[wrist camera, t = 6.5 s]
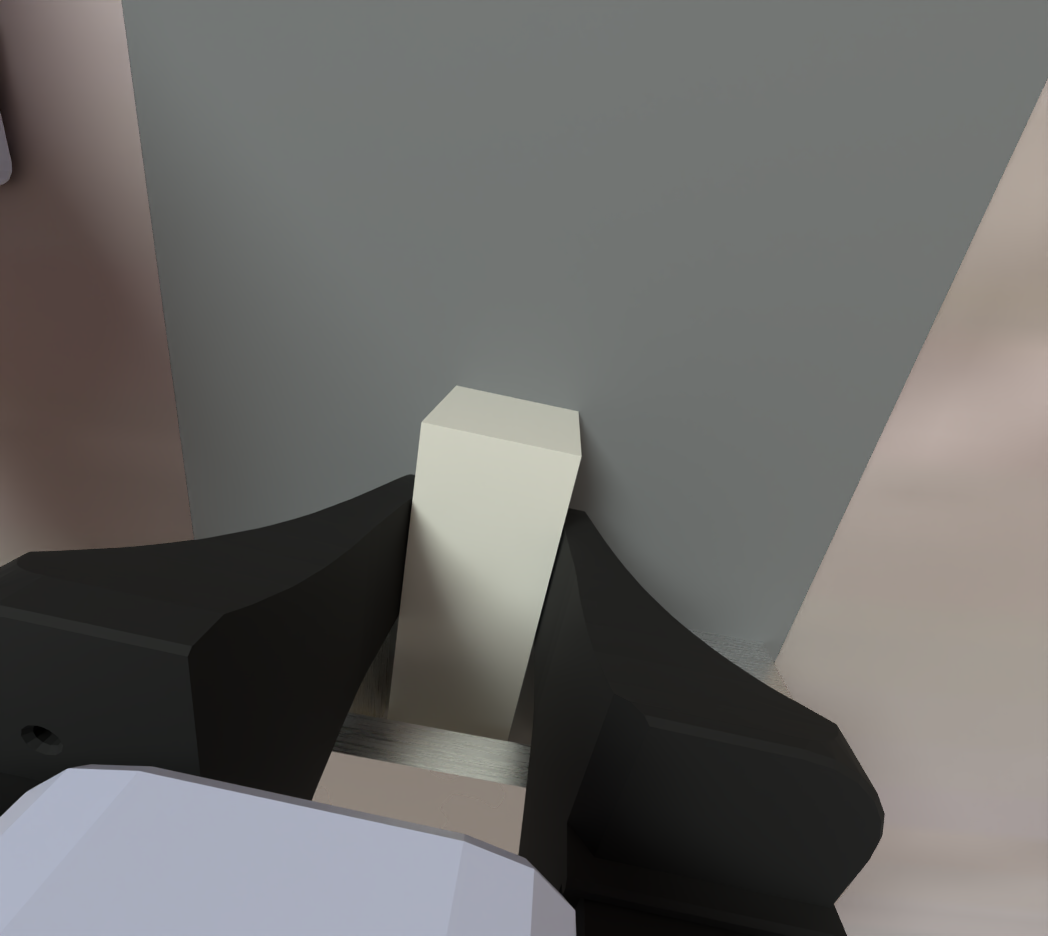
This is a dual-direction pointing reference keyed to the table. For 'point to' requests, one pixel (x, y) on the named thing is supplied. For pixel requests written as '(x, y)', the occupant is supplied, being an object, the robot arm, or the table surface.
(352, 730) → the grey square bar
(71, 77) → the table surface
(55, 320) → the table surface
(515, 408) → the plug
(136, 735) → the robot arm
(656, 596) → the mat
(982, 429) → the table surface
